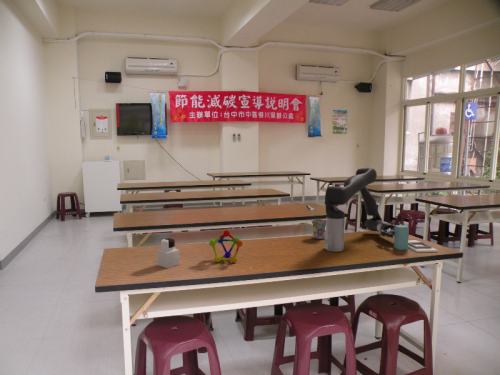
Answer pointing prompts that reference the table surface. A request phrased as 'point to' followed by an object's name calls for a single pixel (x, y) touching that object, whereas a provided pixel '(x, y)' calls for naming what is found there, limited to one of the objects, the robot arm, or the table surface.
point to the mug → (318, 228)
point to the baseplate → (420, 246)
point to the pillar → (401, 237)
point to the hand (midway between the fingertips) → (400, 235)
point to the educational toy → (227, 254)
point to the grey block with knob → (168, 254)
